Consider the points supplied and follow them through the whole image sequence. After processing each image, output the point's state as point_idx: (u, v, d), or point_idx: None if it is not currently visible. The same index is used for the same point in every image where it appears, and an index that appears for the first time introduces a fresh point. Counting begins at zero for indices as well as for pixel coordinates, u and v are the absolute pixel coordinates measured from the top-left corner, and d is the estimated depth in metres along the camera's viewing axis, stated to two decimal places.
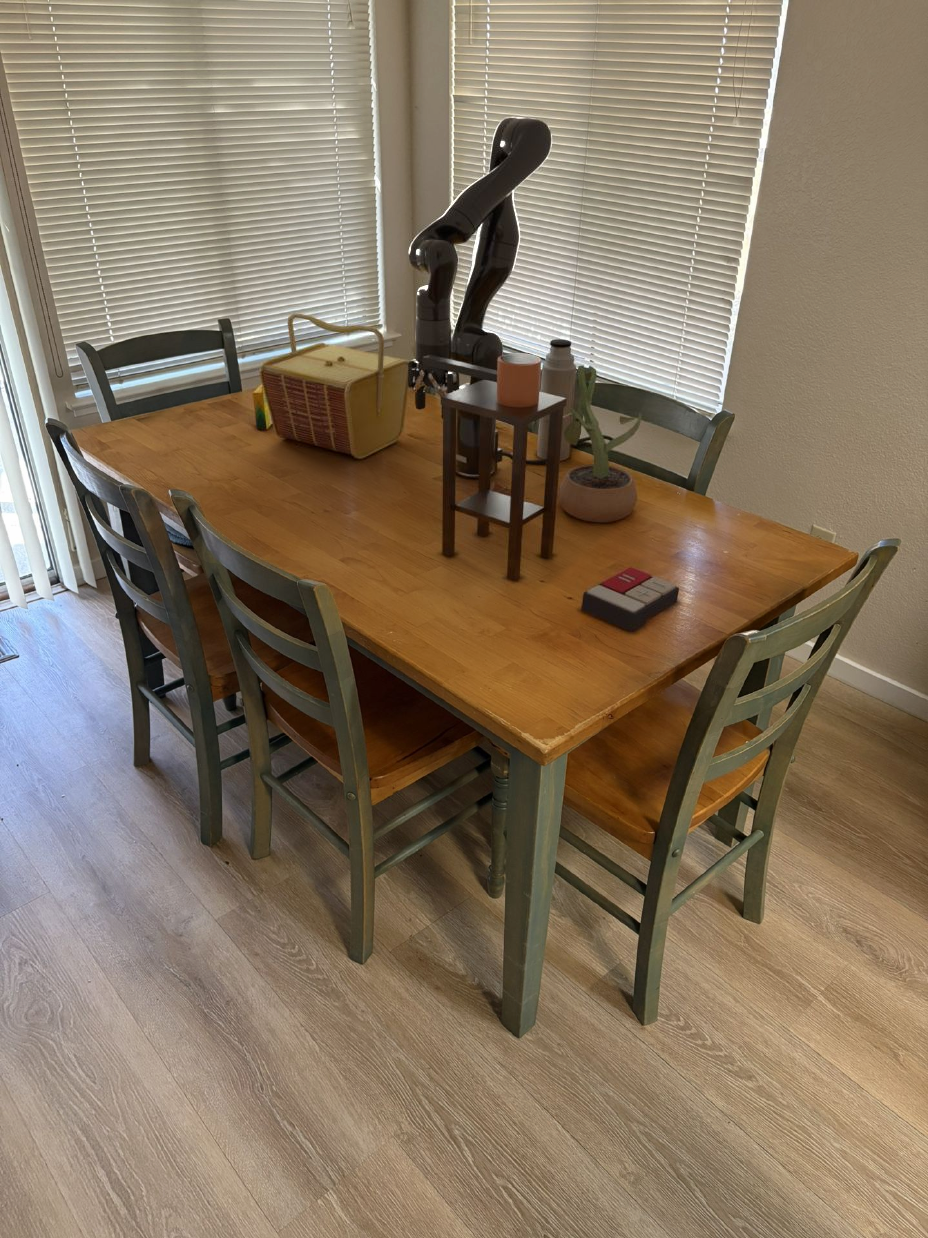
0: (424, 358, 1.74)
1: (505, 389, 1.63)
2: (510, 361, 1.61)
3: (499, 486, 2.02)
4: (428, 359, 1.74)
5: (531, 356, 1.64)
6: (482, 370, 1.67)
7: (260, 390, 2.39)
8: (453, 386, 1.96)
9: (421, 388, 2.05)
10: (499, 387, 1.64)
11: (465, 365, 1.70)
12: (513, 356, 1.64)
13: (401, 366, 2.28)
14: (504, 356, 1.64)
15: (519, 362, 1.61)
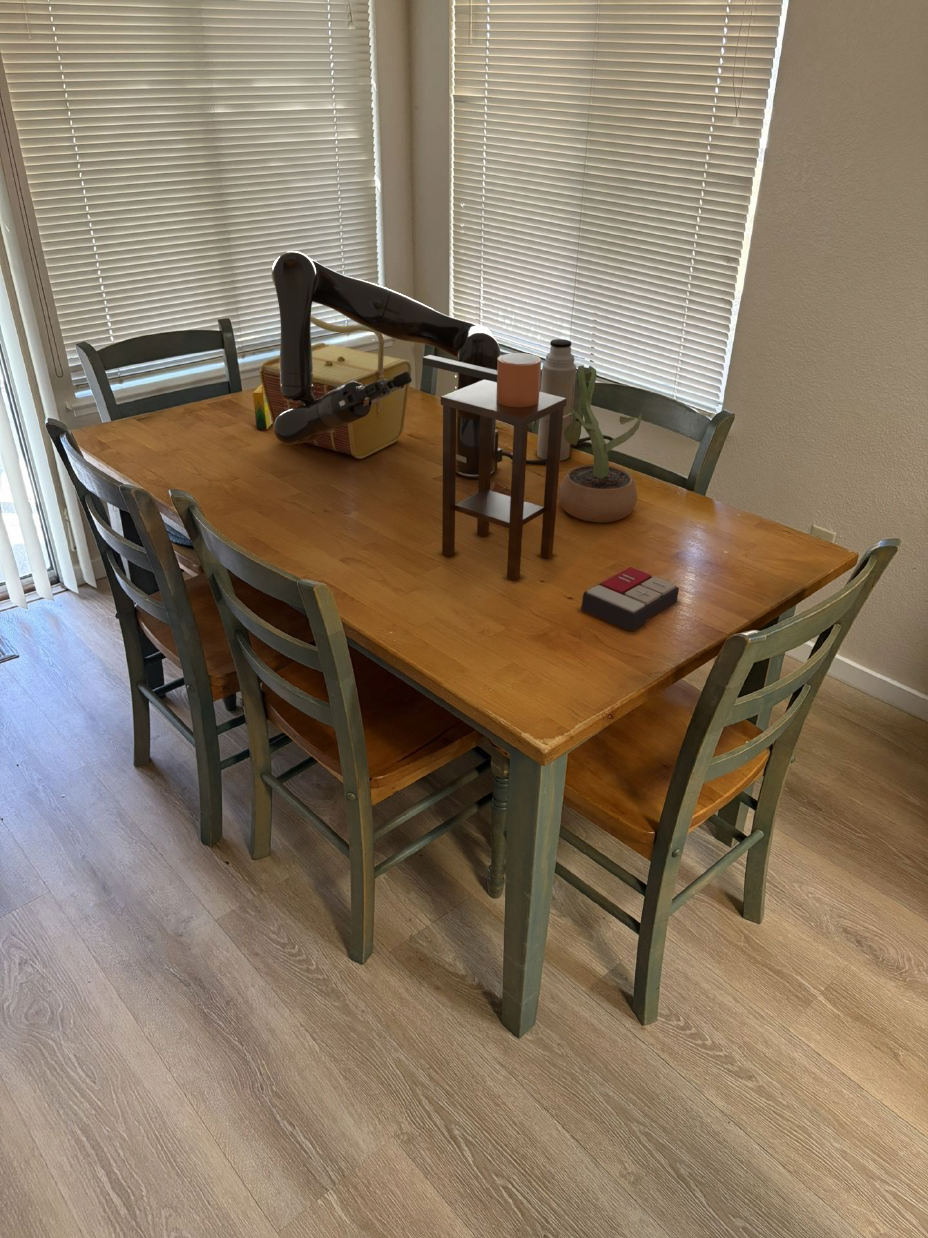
0: (424, 358, 1.74)
1: (505, 389, 1.63)
2: (510, 361, 1.61)
3: (499, 486, 2.02)
4: (428, 359, 1.74)
5: (531, 356, 1.64)
6: (482, 370, 1.67)
7: (260, 390, 2.39)
8: (347, 403, 1.83)
9: (393, 382, 1.88)
10: (499, 387, 1.64)
11: (465, 365, 1.70)
12: (513, 356, 1.64)
13: (401, 366, 2.28)
14: (504, 356, 1.64)
15: (519, 362, 1.61)
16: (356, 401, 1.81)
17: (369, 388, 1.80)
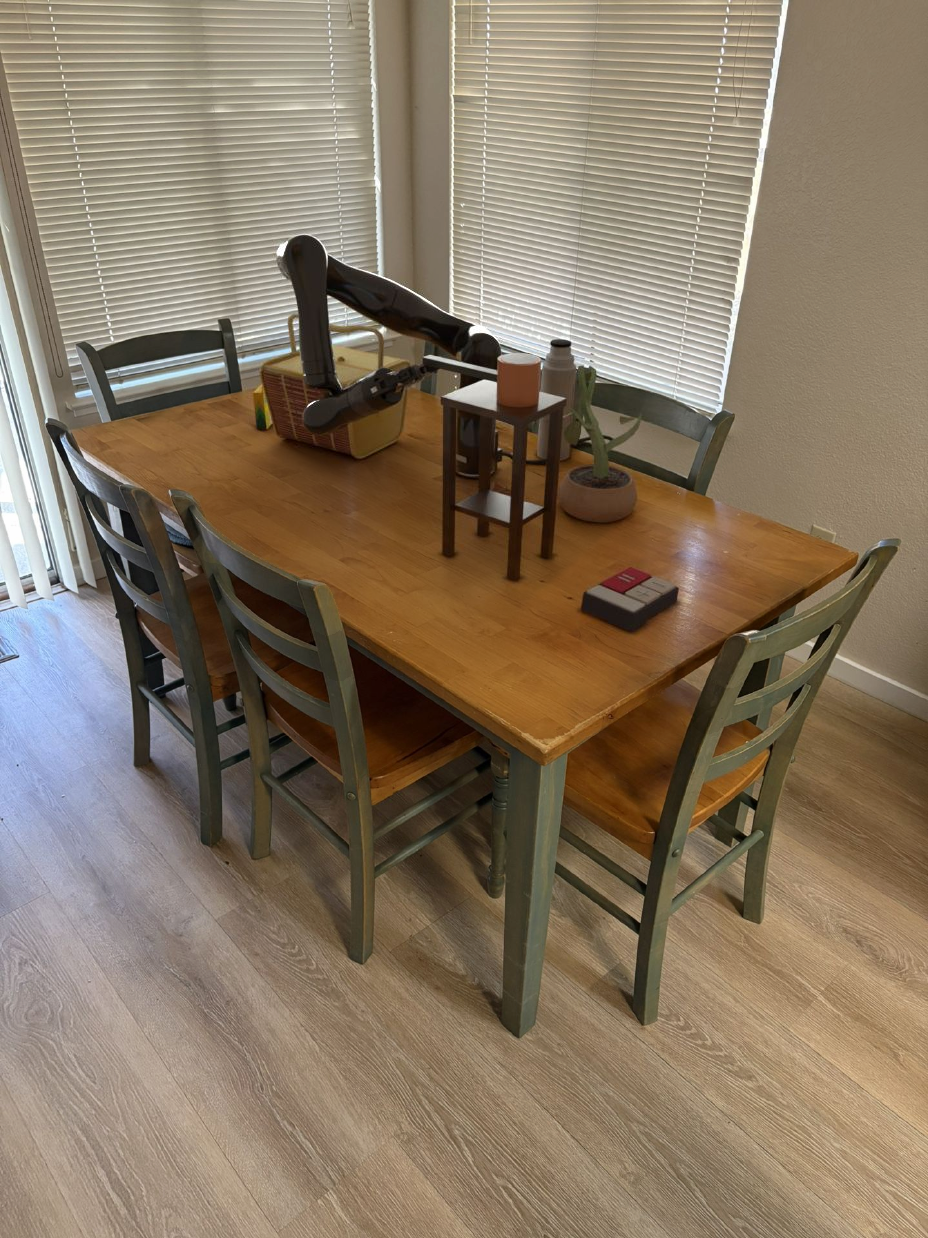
0: (424, 358, 1.74)
1: (505, 389, 1.63)
2: (510, 361, 1.61)
3: (499, 486, 2.02)
4: (428, 359, 1.74)
5: (531, 356, 1.64)
6: (482, 370, 1.67)
7: (260, 390, 2.39)
8: (379, 389, 1.76)
9: (426, 367, 1.82)
10: (499, 387, 1.64)
11: (465, 365, 1.70)
12: (513, 356, 1.64)
13: (401, 366, 2.28)
14: (504, 356, 1.64)
15: (519, 362, 1.61)
16: (389, 387, 1.74)
17: (402, 373, 1.73)
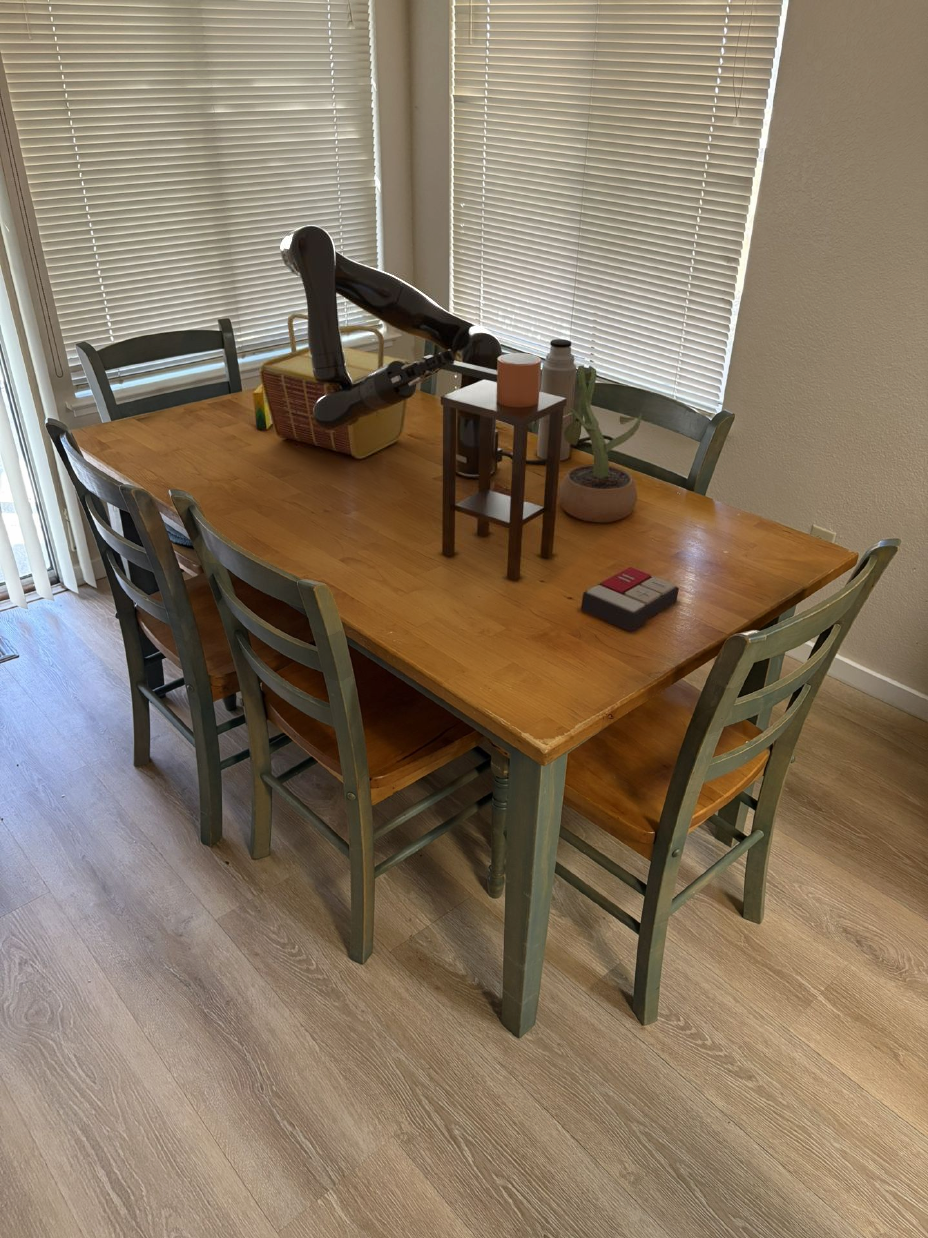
0: (424, 358, 1.74)
1: (505, 389, 1.63)
2: (510, 361, 1.61)
3: (499, 486, 2.02)
4: None
5: (531, 356, 1.64)
6: (482, 370, 1.67)
7: (260, 390, 2.39)
8: (404, 378, 1.73)
9: None
10: (499, 387, 1.64)
11: (465, 365, 1.70)
12: (513, 356, 1.64)
13: None
14: (504, 356, 1.64)
15: (519, 362, 1.61)
16: (418, 374, 1.73)
17: (430, 360, 1.72)
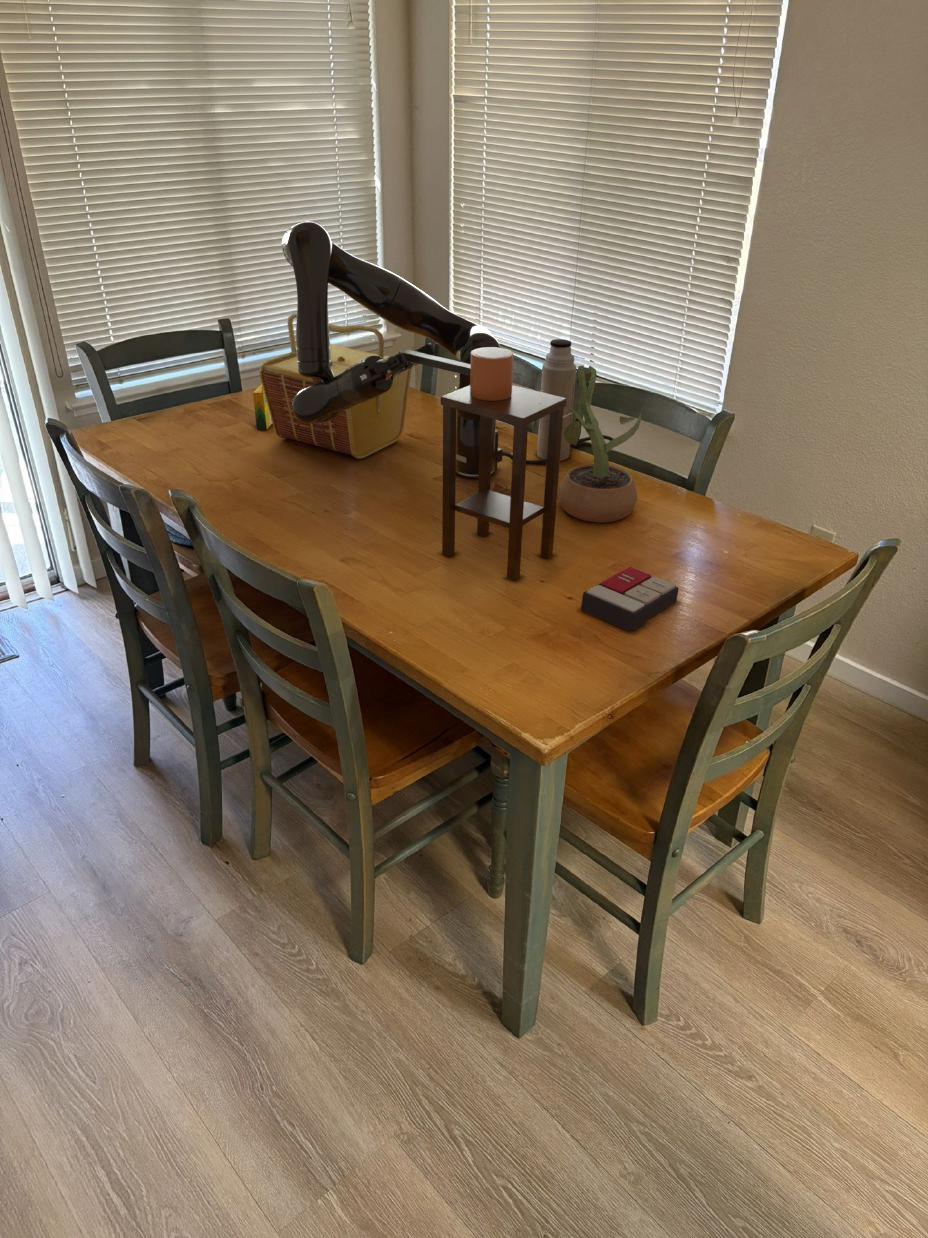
0: (400, 352, 1.77)
1: (478, 383, 1.66)
2: (482, 355, 1.64)
3: (499, 486, 2.02)
4: (404, 353, 1.77)
5: (504, 350, 1.67)
6: (456, 364, 1.70)
7: (260, 390, 2.39)
8: (368, 377, 1.77)
9: None
10: (472, 380, 1.67)
11: (440, 359, 1.73)
12: (486, 350, 1.67)
13: None
14: (477, 350, 1.67)
15: (492, 356, 1.64)
16: (378, 374, 1.75)
17: (392, 360, 1.74)
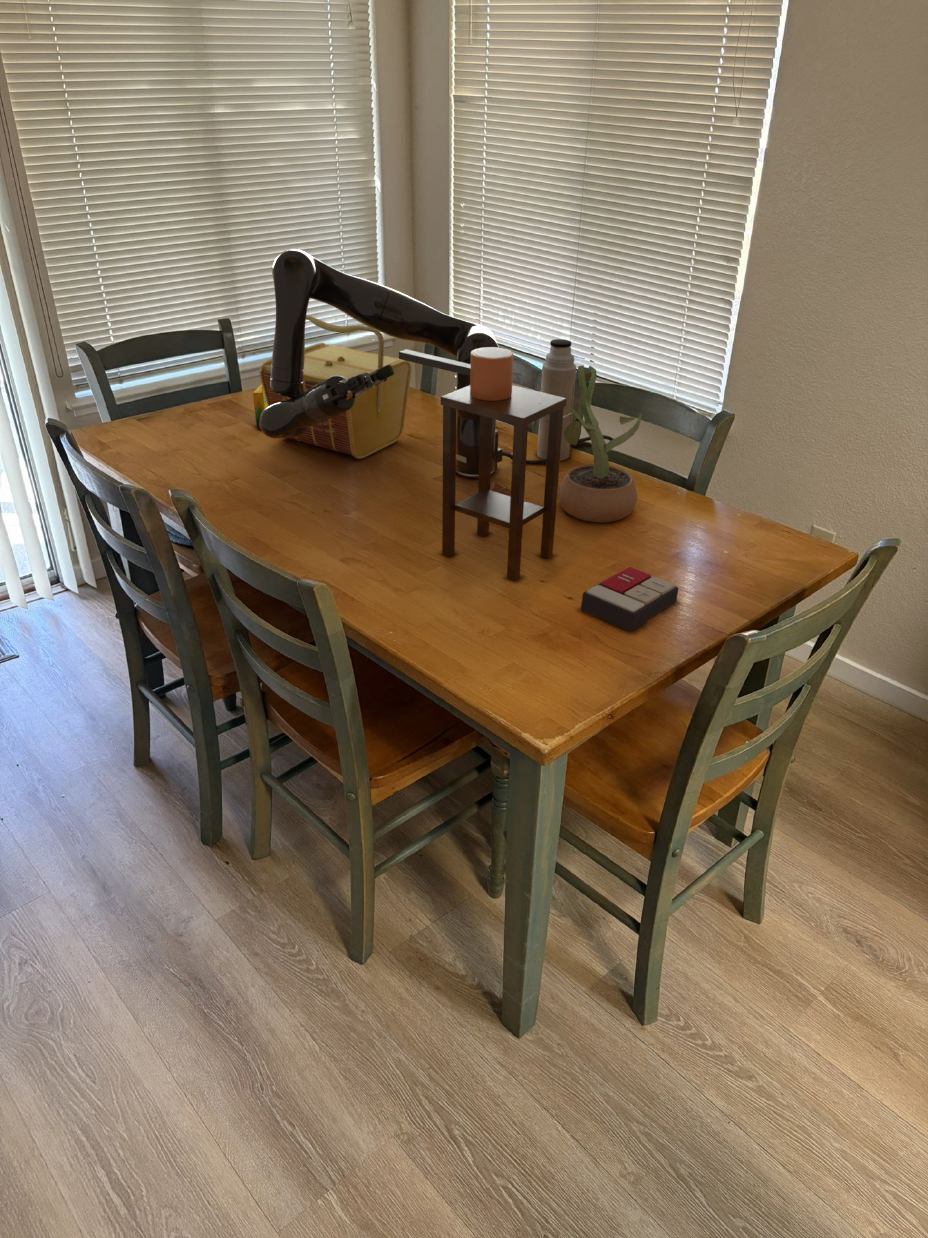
0: (400, 352, 1.77)
1: (478, 383, 1.66)
2: (482, 355, 1.64)
3: (499, 486, 2.02)
4: (404, 353, 1.77)
5: (504, 350, 1.67)
6: (456, 364, 1.70)
7: (260, 390, 2.39)
8: (330, 396, 1.85)
9: (376, 375, 1.90)
10: (472, 380, 1.67)
11: (440, 359, 1.73)
12: (486, 350, 1.67)
13: (401, 366, 2.28)
14: (477, 350, 1.67)
15: (492, 356, 1.64)
16: (339, 394, 1.83)
17: (351, 381, 1.82)
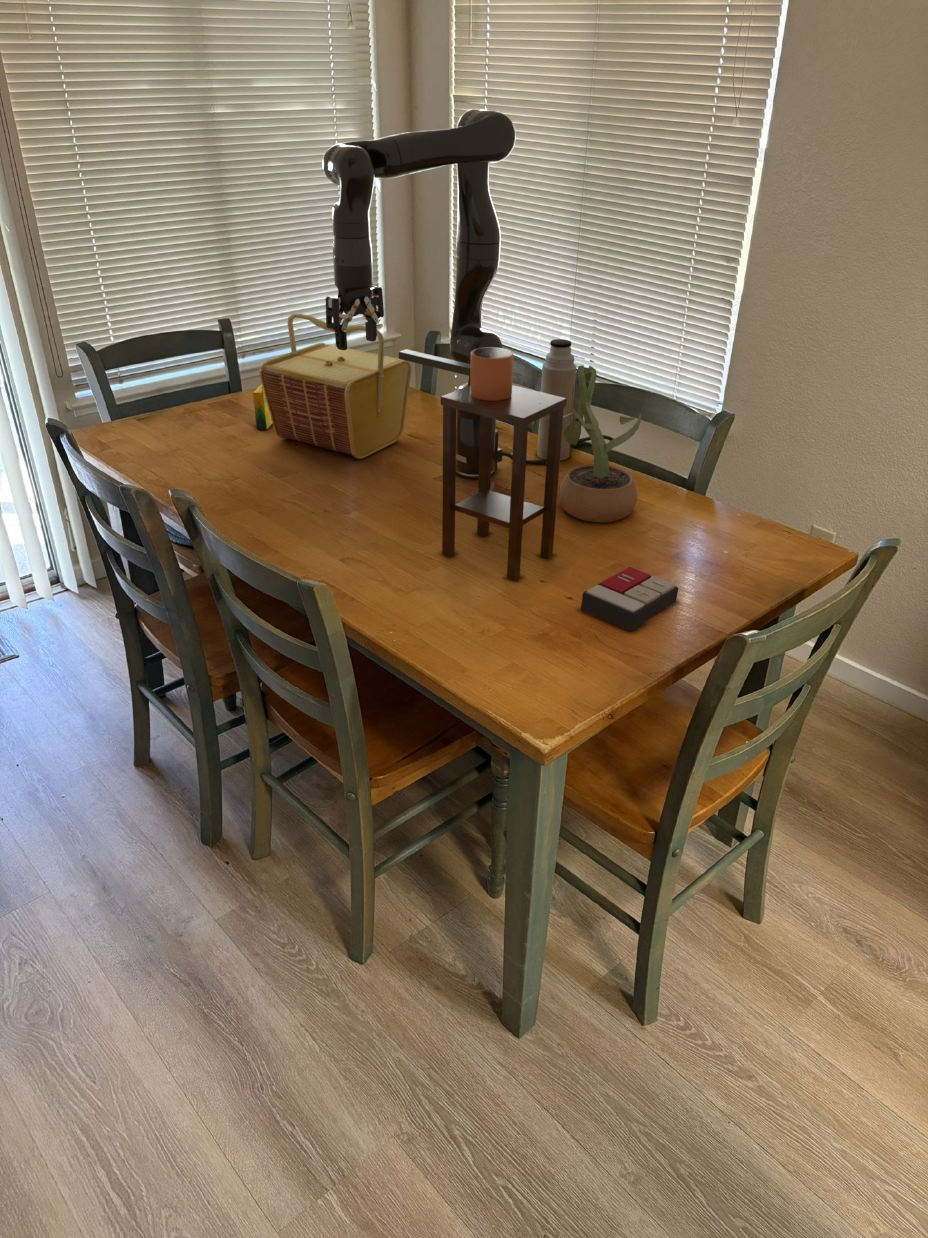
0: (400, 352, 1.77)
1: (478, 383, 1.66)
2: (482, 355, 1.64)
3: (499, 486, 2.02)
4: (404, 353, 1.77)
5: (504, 350, 1.67)
6: (456, 364, 1.70)
7: (260, 390, 2.39)
8: (328, 311, 1.80)
9: (370, 318, 1.89)
10: (472, 380, 1.67)
11: (440, 359, 1.73)
12: (486, 350, 1.67)
13: (401, 366, 2.28)
14: (477, 350, 1.67)
15: (492, 356, 1.64)
16: (327, 326, 1.81)
17: (339, 340, 1.83)
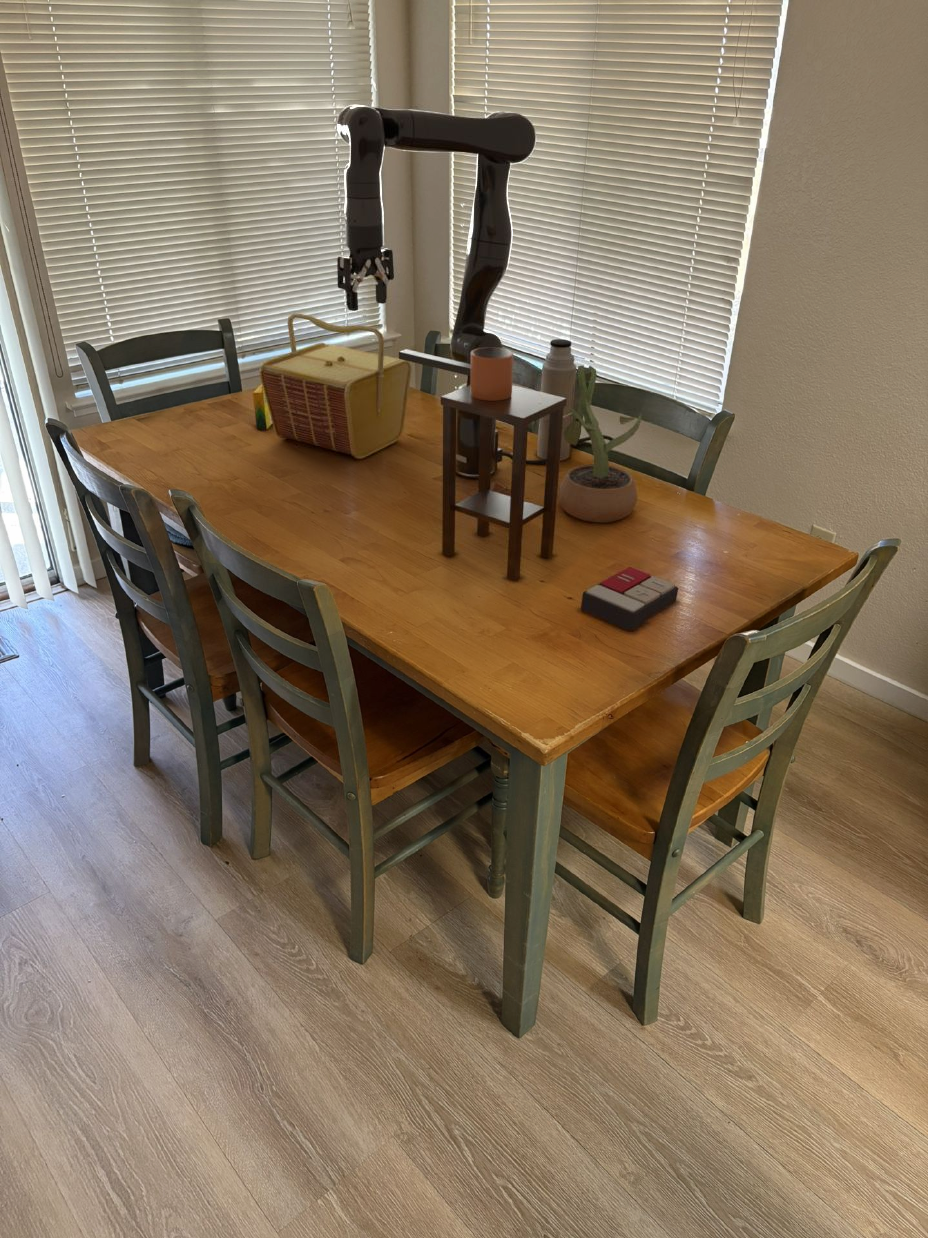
0: (400, 352, 1.77)
1: (478, 383, 1.66)
2: (482, 355, 1.64)
3: (499, 486, 2.02)
4: (404, 353, 1.77)
5: (504, 350, 1.67)
6: (456, 364, 1.70)
7: (260, 390, 2.39)
8: (340, 271, 1.82)
9: (380, 280, 1.91)
10: (472, 380, 1.67)
11: (440, 359, 1.73)
12: (486, 350, 1.67)
13: (401, 366, 2.28)
14: (477, 350, 1.67)
15: (492, 356, 1.64)
16: (338, 286, 1.84)
17: (350, 300, 1.86)
